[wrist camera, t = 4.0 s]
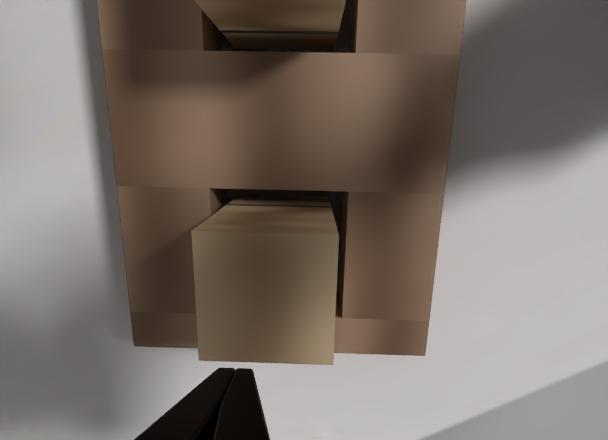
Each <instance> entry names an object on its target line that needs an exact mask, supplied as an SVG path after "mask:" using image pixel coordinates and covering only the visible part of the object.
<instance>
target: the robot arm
mask: <svg viewBox="0 0 608 440" xmlns="http://www.w3.org/2000/svg"><path fill="white" fill-rule="evenodd" d="M134 440H270V438H269V433H268V429H267V425H266V421H265V417H264V413H263V409H262V405H261V401H260V397H259V393H258V389H257V385H256V381H255V377H254V373H253V370H252V369H244V368H238V369H236V370H235V369H234V368H218V369H217V370H216V371H215V372H213V373H212V374H211V375H210V376H209V377H207V378H206V379H205V380H204V381H203V382H202V383H200V384H199V385H198V386H197V387H196V388H194V389H193V390H192V391H191V392H190V393H189V394H187V395H186V396H185V397H184V398H183V399H181V400H180V401H179V402H178V403H177V404H176V405H174V406H173V407H172V408H171V409H170V410H168V411H167V412H166V413H165V414H164V415H163V416H161V417H160V418H159V419H158V420H157V421H156V422H154V423H153V424H152V425H151V426H150V427H148V428H147V429H146V430H145V431H144V432H143V433H141V434H140V435H139V436H138V437H137V438H135V439H134Z"/></svg>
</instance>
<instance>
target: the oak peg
mask: <svg viewBox="0 0 608 440" xmlns="http://www.w3.org/2000/svg"><path fill="white" fill-rule="evenodd" d="M191 233H192V250H193V267H194V284H195V301H196V318H197V335H198V352H199V360H201V361H231V362H261V363H290V364H320V365H333V357H334V335H335V313H336V291H337V269H338V247H339V233H338V229H337V226H336V222H335V218H334V215H333V211H332V206H331V204H330V200H329V197H304V196H262V195H238V196H237V197H236V198H234V199H233V200H232V201H231V202H229V203H228V204H226V205H225V206H224V207H223V208H221V209H220V210H219V211H217V212H216V213H215V214H213V215H212V216H211V217H209V218H208V219H207V220H205V221H204V222H203V223H201V224H200V225H199V226H198V227H196V228H195V229H194V230H192V231H191Z"/></svg>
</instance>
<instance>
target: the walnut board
mask: <svg viewBox="0 0 608 440" xmlns="http://www.w3.org/2000/svg"><path fill="white" fill-rule="evenodd" d="M345 3H346V0H97V7H98V17H99V26H100V35H101V45H102V54H103V63H104V72H105V82H106V91H107V100H108V109H109V119H110V128H111V137H112V146H113V156H114V165H115V174H116V183H117V193H118V202H119V211H120V220H121V230H122V239H123V248H124V258H125V267H126V276H127V285H128V295H129V304H130V313H131V322H132V332H133V341H134V346H144V347H174V348H198V335H197V318H196V301H195V284H194V267H193V250H192V233H191V231H192V230H194V229H195V228H196V227H198V226H199V225H200V224H201V223H203V222H204V221H205V220H207V219H208V218H209V217H211V216H212V215H213V214H215V213H216V212H217V211H219V210H220V209H221V208H223V207H224V206H225V205H226V198H225V189H263V190H305V191H343V199H342V221H341V242H340V263H339V285H338V293H336V313H335V335H334V353H355V354H386V355H416V356H425V352H426V344H427V335H428V326H429V318H430V309H431V301H432V292H433V284H434V275H435V266H436V258H437V249H438V241H439V232H440V223H441V215H442V206H443V198H444V189H445V180H446V172H447V163H448V155H449V146H450V137H451V129H452V120H453V112H454V103H455V94H456V86H457V77H458V69H459V60H460V52H461V43H462V34H463V26H464V17H465V9H466V0H352V7H351V28H350V50H349V53H325V52H260V51H221V50H220V32H221V33H222V34H223V35H224V36H225V37H226V38H227V39H228V41H229V42H230V43H231V44H232V45H233V46H234V48H235V49H285V50H334V49H335V45H336V41H337V36H338V34H339V28H340V24H341V20H342V16H343V11H344V7H345Z"/></svg>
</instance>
